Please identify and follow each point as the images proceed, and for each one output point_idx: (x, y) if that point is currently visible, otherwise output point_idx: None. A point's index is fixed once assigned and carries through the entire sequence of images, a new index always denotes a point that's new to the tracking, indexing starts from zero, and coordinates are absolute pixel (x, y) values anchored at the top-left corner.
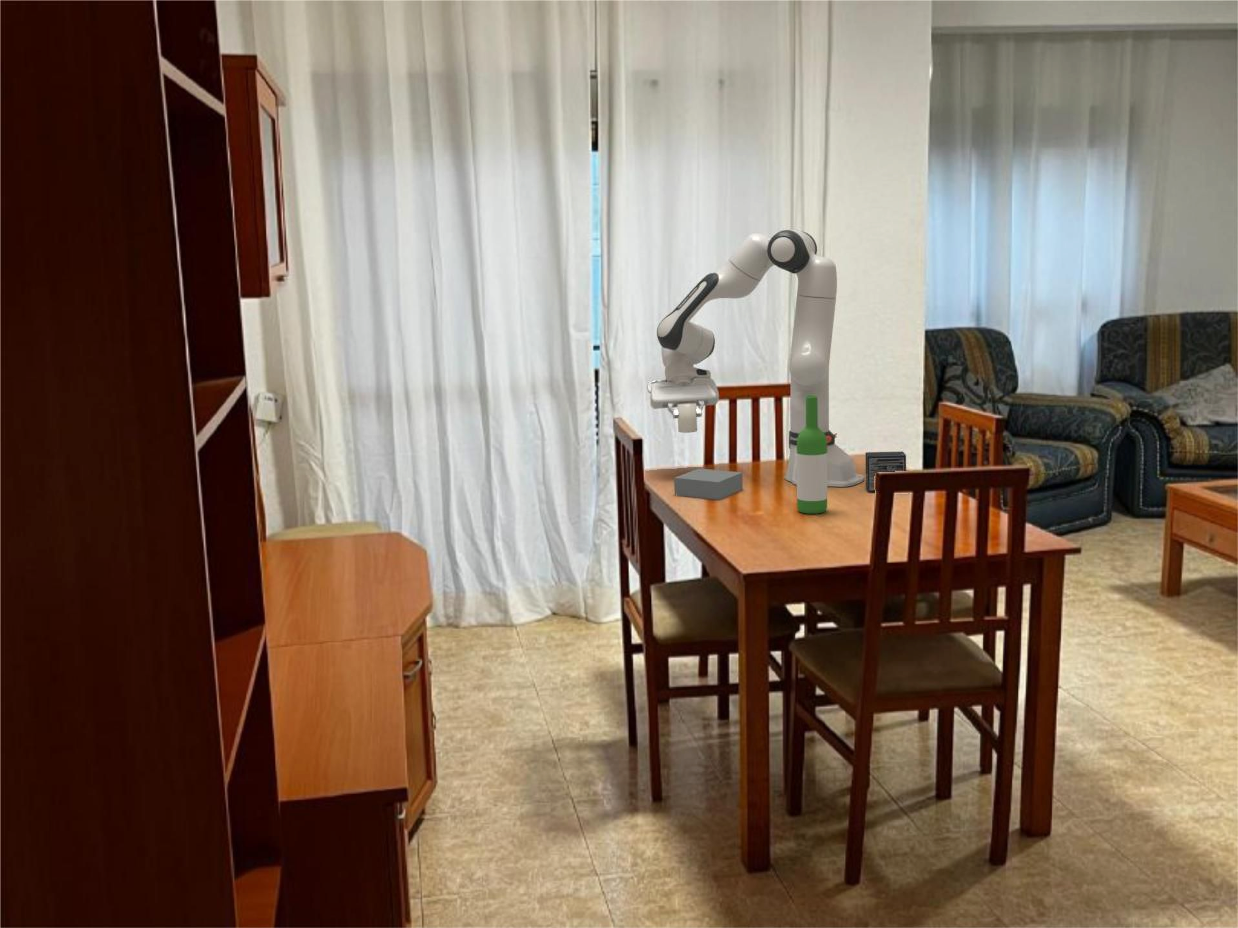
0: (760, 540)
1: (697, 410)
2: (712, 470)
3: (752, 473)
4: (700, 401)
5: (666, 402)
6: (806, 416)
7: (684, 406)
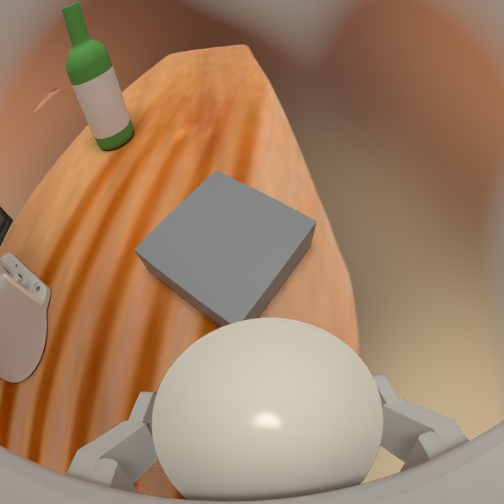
0: (217, 73)
1: None
2: (201, 289)
3: (85, 440)
4: (94, 480)
5: (486, 433)
6: (85, 25)
7: (303, 327)
